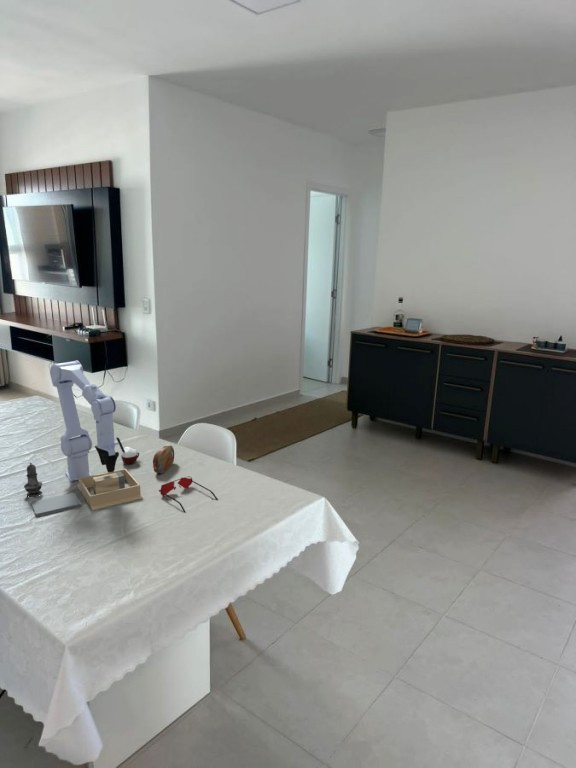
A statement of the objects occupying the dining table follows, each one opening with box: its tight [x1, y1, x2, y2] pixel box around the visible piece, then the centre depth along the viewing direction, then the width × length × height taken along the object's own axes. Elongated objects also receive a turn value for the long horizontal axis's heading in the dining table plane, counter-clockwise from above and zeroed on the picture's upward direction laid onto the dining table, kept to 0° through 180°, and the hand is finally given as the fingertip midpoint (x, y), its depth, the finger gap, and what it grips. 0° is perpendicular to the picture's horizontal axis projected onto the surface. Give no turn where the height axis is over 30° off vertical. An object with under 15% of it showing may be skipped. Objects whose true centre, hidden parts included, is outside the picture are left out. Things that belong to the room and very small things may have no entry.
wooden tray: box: [77, 468, 144, 511], centre depth 189 cm, size 22×17×4 cm
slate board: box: [30, 492, 82, 517], centre depth 179 cm, size 10×14×1 cm
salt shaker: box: [23, 462, 43, 498], centre depth 185 cm, size 6×6×12 cm
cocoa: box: [116, 437, 140, 466], centre depth 214 cm, size 10×6×12 cm, turn 117°
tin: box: [152, 445, 175, 474], centre depth 209 cm, size 15×3×8 cm, turn 168°
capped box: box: [92, 472, 126, 495], centre depth 188 cm, size 4×10×6 cm, turn 123°
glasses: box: [158, 475, 219, 514], centre depth 185 cm, size 14×16×5 cm
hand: (107, 468), depth 187 cm, fingers open, 7 cm apart
